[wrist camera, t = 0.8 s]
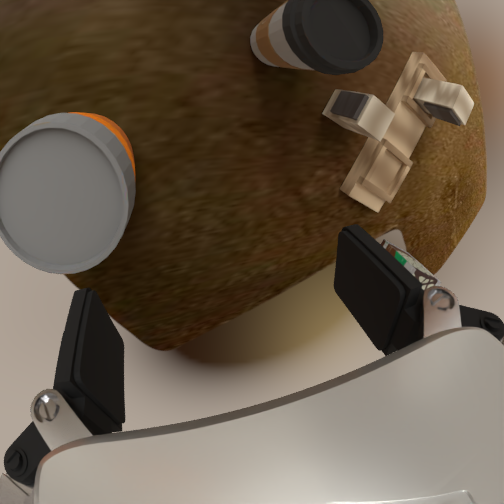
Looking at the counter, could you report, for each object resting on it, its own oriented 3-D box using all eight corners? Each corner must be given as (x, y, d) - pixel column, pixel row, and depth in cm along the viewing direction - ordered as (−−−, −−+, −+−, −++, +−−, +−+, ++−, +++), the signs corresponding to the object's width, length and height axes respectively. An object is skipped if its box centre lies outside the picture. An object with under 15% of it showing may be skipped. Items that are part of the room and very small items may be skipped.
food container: (360, 264, 51) (392, 299, 43) (379, 236, 49) (414, 268, 41) (394, 278, 57) (423, 308, 49) (411, 254, 54) (442, 283, 46)
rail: (412, 51, 31) (465, 57, 23) (435, 78, 34) (485, 89, 26) (339, 189, 41) (383, 221, 33) (368, 205, 44) (411, 238, 36)
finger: (318, 111, 34) (353, 121, 27) (332, 86, 32) (369, 91, 26) (343, 127, 36) (380, 141, 29) (356, 104, 34) (395, 114, 28)
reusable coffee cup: (166, 141, 31) (168, 182, 19) (107, 221, 34) (85, 300, 22) (85, 82, 24) (30, 84, 12) (31, 170, 27) (-29, 228, 15)
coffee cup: (281, 1, 24) (352, -33, 12) (319, 53, 29) (402, 50, 17) (225, 35, 26) (270, 3, 14) (268, 87, 31) (335, 95, 19)
